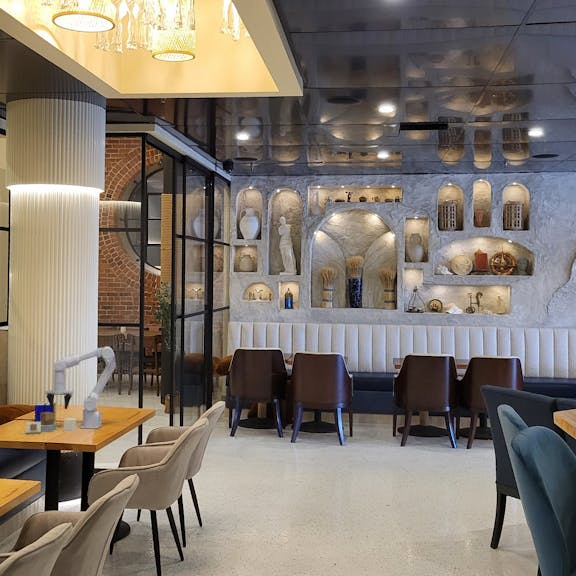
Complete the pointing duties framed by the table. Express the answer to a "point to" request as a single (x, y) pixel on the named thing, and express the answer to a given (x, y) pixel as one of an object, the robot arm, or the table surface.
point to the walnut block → (47, 418)
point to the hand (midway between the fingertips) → (59, 408)
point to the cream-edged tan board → (33, 427)
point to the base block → (48, 428)
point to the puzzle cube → (44, 410)
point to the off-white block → (70, 424)
